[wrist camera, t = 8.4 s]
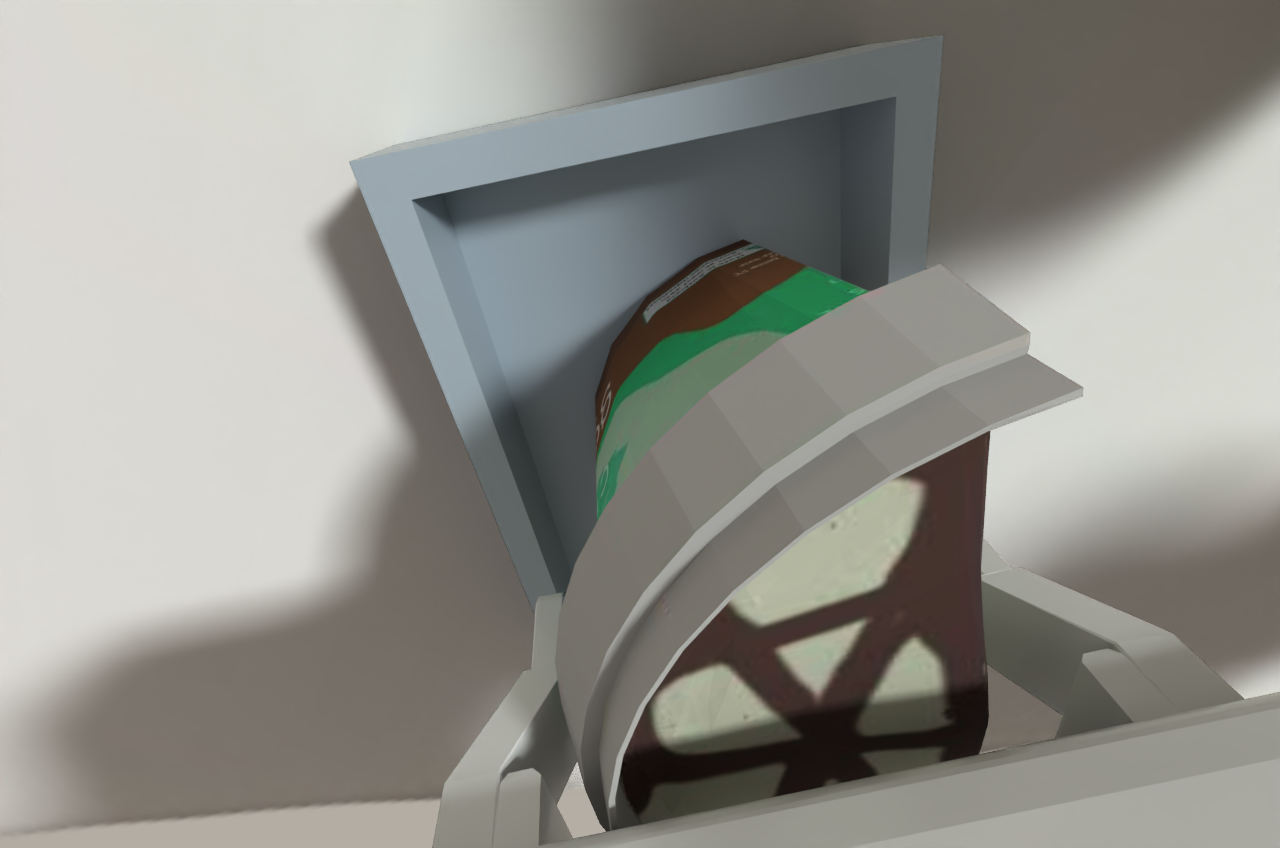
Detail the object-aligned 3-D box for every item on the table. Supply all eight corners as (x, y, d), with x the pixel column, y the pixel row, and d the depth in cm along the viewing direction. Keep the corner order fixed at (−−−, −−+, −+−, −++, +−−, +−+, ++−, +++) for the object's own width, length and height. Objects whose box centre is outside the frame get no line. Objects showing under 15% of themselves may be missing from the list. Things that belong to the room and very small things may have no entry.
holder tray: (865, 44, 13) (943, 35, 10) (855, 574, 21) (896, 644, 19) (394, 145, 13) (349, 161, 10) (573, 634, 21) (574, 713, 19)
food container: (472, 254, 13) (345, 559, 5) (732, 173, 13) (1095, 329, 5) (620, 610, 19) (683, 1019, 11) (796, 556, 19) (998, 925, 11)
